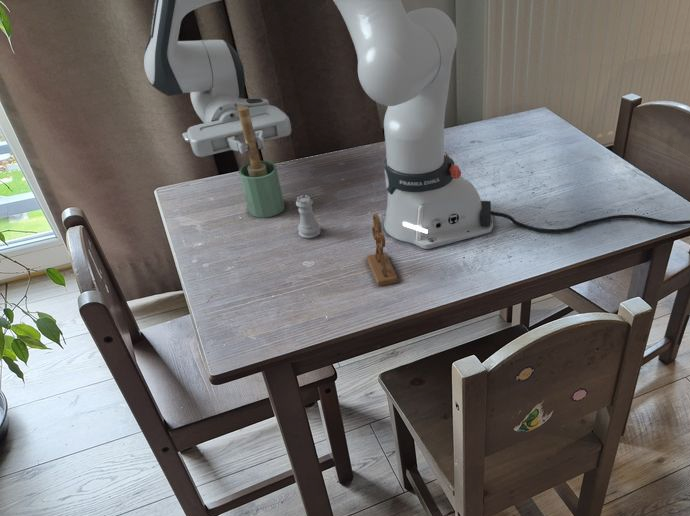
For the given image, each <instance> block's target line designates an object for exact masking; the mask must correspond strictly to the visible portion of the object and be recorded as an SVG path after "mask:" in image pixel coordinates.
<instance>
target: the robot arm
mask: <svg viewBox="0 0 690 516" xmlns="http://www.w3.org/2000/svg"><path fill="white" fill-rule="evenodd" d="M219 1H221V0H154V1H153V2H154V3H153V9H152V17H151V24H150V30H149V36H148V40H147V43H146V45H145V49H144V53H143V55H144V56H143V68H144V72H145V75H146V78H147V80H148V82H149V85H150V86H152V87H153V88H154V89H156V90H157V91H158V92H160V93H161V94H163V95H166V96H167V97H172V96H179V95H183V94H188V93H189V96H190V101H191V105H192V107H193V109H194V111H195V114H196V115H197V117H198V118H199V119H200V120H201V122H203V123H199V124H195V125H192V126H189V127H188V128H187V130H186V131H185V132H183V133H182V134H181V137H182V139H183V140H184V141H185V142H187V143H189V144H190V147H191V149H192V153H193V154H194V155H195V156H196V157H199V158H203V157H207V156H212V155H215V154H219V153H223V152H228V151H235V152H239V153H240V154H241V155H243V154H246V153H247V154H248V152H249V149H248V145H247V143H246V142H245V138H244V134H243V130H242V125H241V121H240V117H239V113H238V108H239V107H242V106H246V107H248V108H249V112H250V117H251V121H252V126H253V130H254V135H255V139H256V144H257V148H258V151H259V150H263V149H266V143H265V142H269V141H272V140H276V139H280V138H284V137H288V136H290V135H291V134H292V132H293V131H292V123H291V119H290V117H289V116H288V115H287V113H285V112H284V111H283V110H281V109H280V108H279V107H277V106H275V105H271V104H270V102H269V100H268V99H267V98H241V97H242V95H243V93H244V90H245V84H246V83H245V81H246V79H245V77H246V76H245V69H244V65H243V62H242V58H241V57H240V56H239V53H238V52H237V51H236V50H235V48H234V47H233V46H232V45H231V44H230V43H228V42H227V41H226V40H224V39H199V40H179V35H180V31H181V24H182V22H183V19H184V18H185V16H186V15H187V14H189V13H190V12H192V11H195V10H196V9H199V8H201V7H203V6H206V5H208V4H212V3H216V2H219ZM332 1H333V3H334V5H335V6H336V8H337V9H338V11H339V13H340V14H341V17H342V18H343V21H344V23H345V26H346V28H347V30H348V32H349V35H350V38H351V41H352V43H353V46H354V49H355V53H356V58H357V76H358V80H359V83H360V86H361V88H362V90H363V91H364V93H365V94H366V95H367V96H368V97H369V98H370V99H371V100H372V101H374V102H375V103H377V104H379V105H381V106H385V107H386V111H385V114H384V118H383V119H384V120H383V131H384V133H383V134H384V144H385V145H384V146H385V160H384V170H383V171H384V181H385V187H386V190H387V201H386V211H385V217H384V220H383V228H384V231H385V232H386V233H387V234H388V236H390V237H392V238H394V239H396V240H398V241H401V242H404V243H410V244H413V245H416V246H417V247H419V248H421V249H423V250H429V249H431V250H432V249H434V248H438V247H442V246H445V245H449V244H453V243H457V242H460V241H464V240H467V239H472V238H475V237H479V236H483V235H486V234H489V233H491V232H492V230H493V228H494V218H493V216H496V217H501V218H505V219H507V220H509V221H510V222H511V223H513V225H515V226H518V227H521V228H523V229H527V230H530V231H534V232H538V233H550V234H551V233H554V234H555V233H557V234H559V233H566V232H570V231H575V230H576V229H579V228H582V227H585V226H588V225H592V224H597V223H601V222H606V221H612V220H618V219H635V220H642V221H647V222H650V223H651V222H652V223H657V224H662V225H669V226H674V225H675V226H676V225H677V226H679V225H690V219H689V220H687V219H686V220H665V219H659V218H653V217H649V216H645V215H637V214H616V215H609V216H604V217H600V218H596V219H591V220H586V221H584V222H581V223H578V224H575V225H572V226H569V227H565V228H542V227H541V228H540V227H534V226H532V225H531V226H530V225H527V224H525V223H522V222H519V221H517V220H516V219H515V218H514V217H513V216H511V215H509V214H506V213H503V212H499V211H498V212H497V211H492V205H491V204H492V203H491V202H492V201H490V200H482V199H481V196H480V194H479V192H478V190H477V188H476V187H475V185H473V183H471V181H469V180H468V179H466V178H464V177H462V171H461V169H460V167H459V166H458V165H456V164H455V160H453V158H451V157H450V155H449V154H448V152H445V116H446V109H447V103H448V96H449V89H450V83H451V75H452V66H453V60H454V56H455V53H456V48H457V45H458V33H457V29H456V26H455V24H454V22H453V20H452V19H451V18H450V16H448V14H447V13H445V11H443V10H442V9H439V8H435V7H423V8H416V9H413V10H411V11H409V12H406V10H405V7H404V4H403V1H402V0H332ZM689 320H690V314H687V315H686V316H685V319H684V322H683V325H682V327H681V331H680V333H679V336H678V340H677V342H676V344H677V345H678V346H680V345H681V343H682V341H683V337H684V334H685V331H686V328H687V325H688V322H689Z"/></svg>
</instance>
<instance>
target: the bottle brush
mask: <svg viewBox="0 0 690 516" xmlns="http://www.w3.org/2000/svg"><path fill="white" fill-rule="evenodd" d="M238 113H239V117H240V121H241V125H242V130H243V134H244V138H245V142H246V143H247V145H248V149H249V152H247V155H248V158H249V163H251V164H250V165H249V166H248V167H247V169H248V173H249V177H262V176H265V175H268V174H267V170H266V165H265V164H263V163H261V161H262V160H261V157H260V153H259V150H258V148H257V144H256V139H255V135H254V130H253V126H252V121H251V117H250V112H249V108H248V107H246V106H242V107H239V108H238Z"/></svg>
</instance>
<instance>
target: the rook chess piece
mask: <svg viewBox="0 0 690 516" xmlns="http://www.w3.org/2000/svg"><path fill="white" fill-rule="evenodd" d="M313 203H314V202H313V199H311V197H310V196H309V195H307V194H305V195H300V196H297V198H296V201H295V205H296V207H298V209H297V211H298V213H299V220H300V221H299V224H298V226H297V230H298V235H299V237H301V238H303V239H306V240H310V239H314V238H317V237H319V235H320V234H321V231H322V230H321V226H320V223H319V222H318V221H317V220H316V219H315V217H314V213H313V209H314V208H313V207H312V205H313Z"/></svg>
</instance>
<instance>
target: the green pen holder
mask: <svg viewBox="0 0 690 516" xmlns="http://www.w3.org/2000/svg"><path fill="white" fill-rule="evenodd" d="M260 161H261V163H263V164H265V165H266V170H267V174H268V175H265V176H262V177H249V173H248V169H247V167H248V166H249V165H250V164H251V163H250V162H247V163H245V164H243V165H241V166H240V168H239V169H238V176H239V179H240V183H241V187H242V191H243V195H244V199H245V203H246V205H247V210H248V212H249V214H250V215H251V216H253V217H256V218H271V217H274V216H278V215H279V214H281V213H282V212H283V211H284V209H285V207H286V206H285V201H284V196H283V191H282V186H281V182H280V176H279V173H278V168H277V164H275V163H274V162H272V161H268V160H260Z"/></svg>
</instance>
